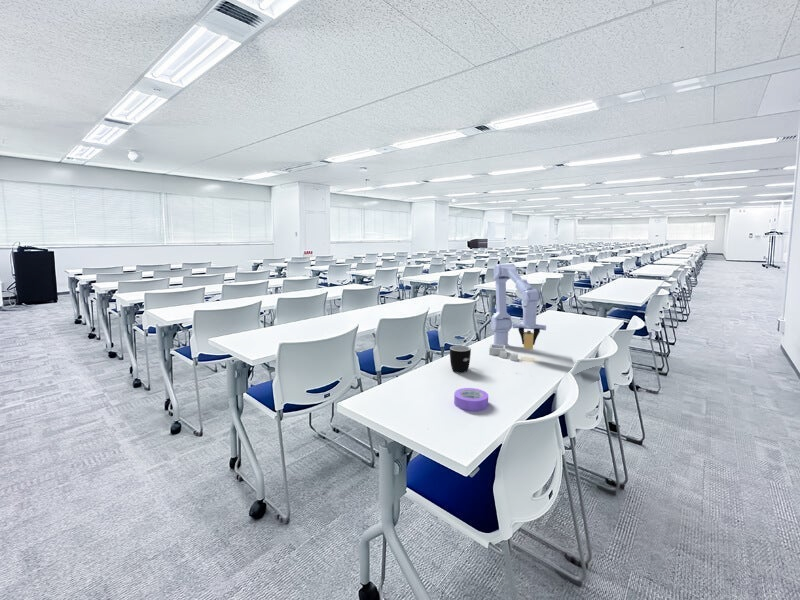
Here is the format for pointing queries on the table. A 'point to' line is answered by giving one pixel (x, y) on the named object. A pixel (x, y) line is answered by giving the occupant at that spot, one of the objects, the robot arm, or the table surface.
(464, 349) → the mug
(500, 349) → the cable board
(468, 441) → the table surface
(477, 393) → the masking tape
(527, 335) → the connector plug
